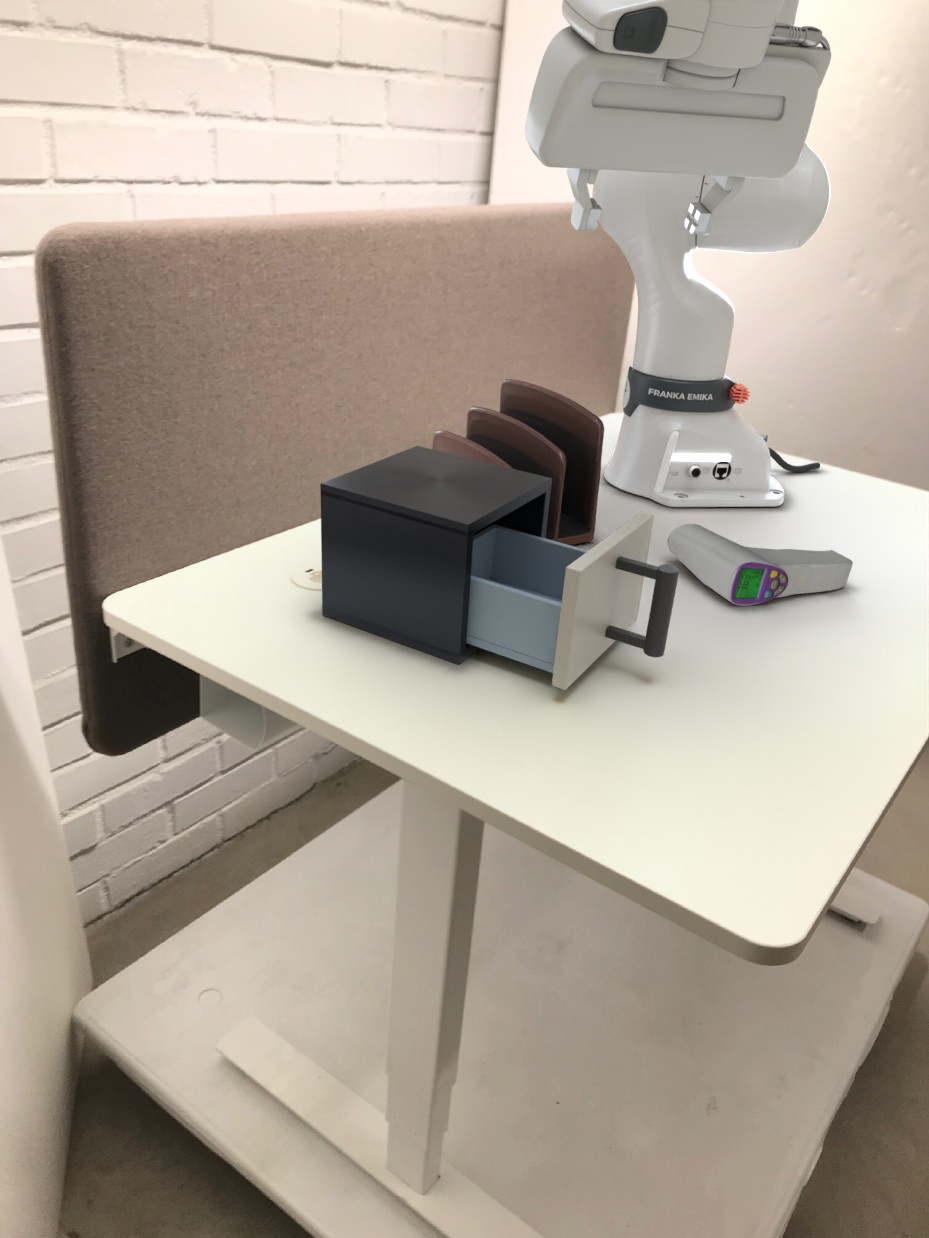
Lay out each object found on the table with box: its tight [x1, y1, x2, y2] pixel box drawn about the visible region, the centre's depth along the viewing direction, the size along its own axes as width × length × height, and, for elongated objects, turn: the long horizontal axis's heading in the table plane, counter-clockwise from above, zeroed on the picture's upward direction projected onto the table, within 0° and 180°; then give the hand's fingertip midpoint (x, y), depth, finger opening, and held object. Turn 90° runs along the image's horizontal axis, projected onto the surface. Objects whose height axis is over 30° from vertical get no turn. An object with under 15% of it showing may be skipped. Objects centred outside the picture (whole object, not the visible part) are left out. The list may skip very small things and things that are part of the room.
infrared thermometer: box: [666, 523, 854, 607], centre depth 91 cm, size 5×12×15 cm
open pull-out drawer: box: [466, 510, 680, 691], centre depth 73 cm, size 19×14×10 cm
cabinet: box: [319, 445, 552, 665], centre depth 78 cm, size 14×14×12 cm
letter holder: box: [431, 378, 605, 546], centre depth 99 cm, size 10×20×14 cm, turn 29°
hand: (640, 229), depth 67 cm, fingers open, 8 cm apart
